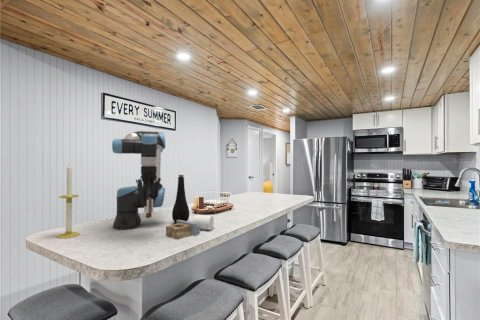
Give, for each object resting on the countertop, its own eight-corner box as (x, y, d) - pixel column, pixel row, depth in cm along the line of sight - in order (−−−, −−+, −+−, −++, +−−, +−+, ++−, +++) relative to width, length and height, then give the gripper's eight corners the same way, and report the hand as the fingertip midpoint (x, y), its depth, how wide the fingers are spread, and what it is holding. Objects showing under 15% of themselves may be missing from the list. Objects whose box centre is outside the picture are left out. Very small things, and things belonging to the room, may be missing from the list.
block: (165, 235, 131) (166, 226, 131) (179, 231, 139) (179, 222, 139) (177, 239, 126) (177, 229, 126) (191, 234, 133) (191, 225, 133)
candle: (73, 238, 126) (73, 163, 126) (52, 238, 126) (52, 162, 126) (84, 232, 136) (84, 162, 136) (64, 232, 136) (65, 162, 136)
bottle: (192, 222, 160) (193, 174, 160) (180, 226, 151) (181, 175, 151) (180, 220, 165) (181, 174, 165) (168, 223, 157) (168, 175, 157)
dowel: (144, 217, 128) (144, 197, 128) (149, 216, 130) (149, 197, 130) (148, 218, 127) (148, 198, 126) (152, 217, 129) (152, 197, 128)
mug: (209, 231, 140) (209, 217, 140) (192, 230, 142) (192, 216, 142) (215, 226, 151) (215, 213, 151) (199, 225, 153) (199, 212, 153)
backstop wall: (176, 231, 140) (176, 220, 140) (183, 229, 144) (183, 218, 144) (194, 235, 132) (194, 224, 132) (201, 233, 136) (201, 222, 136)
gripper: (139, 166, 120) (139, 216, 120) (165, 165, 132) (165, 210, 132) (130, 165, 124) (130, 213, 124) (156, 165, 136) (156, 208, 137)
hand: (148, 212), depth 128 cm, fingers closed on dowel, 2 cm apart
